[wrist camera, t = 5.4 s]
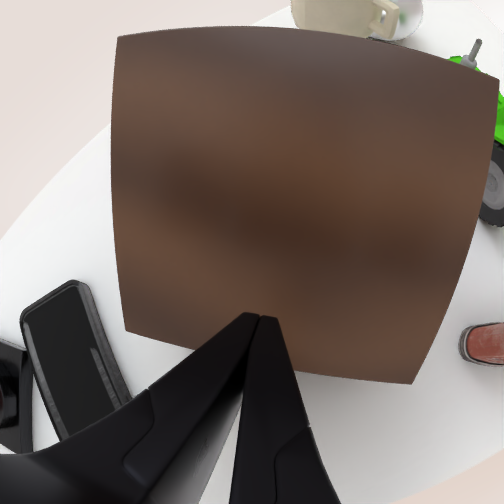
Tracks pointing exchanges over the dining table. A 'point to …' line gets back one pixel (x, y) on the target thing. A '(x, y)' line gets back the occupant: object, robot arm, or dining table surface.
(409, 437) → the dining table surface
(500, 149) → the toy tractor
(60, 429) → the phone
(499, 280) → the dining table surface
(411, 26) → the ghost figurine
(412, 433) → the dining table surface
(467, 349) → the lighter
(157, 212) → the lid
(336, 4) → the cream and green trophy
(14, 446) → the button base
